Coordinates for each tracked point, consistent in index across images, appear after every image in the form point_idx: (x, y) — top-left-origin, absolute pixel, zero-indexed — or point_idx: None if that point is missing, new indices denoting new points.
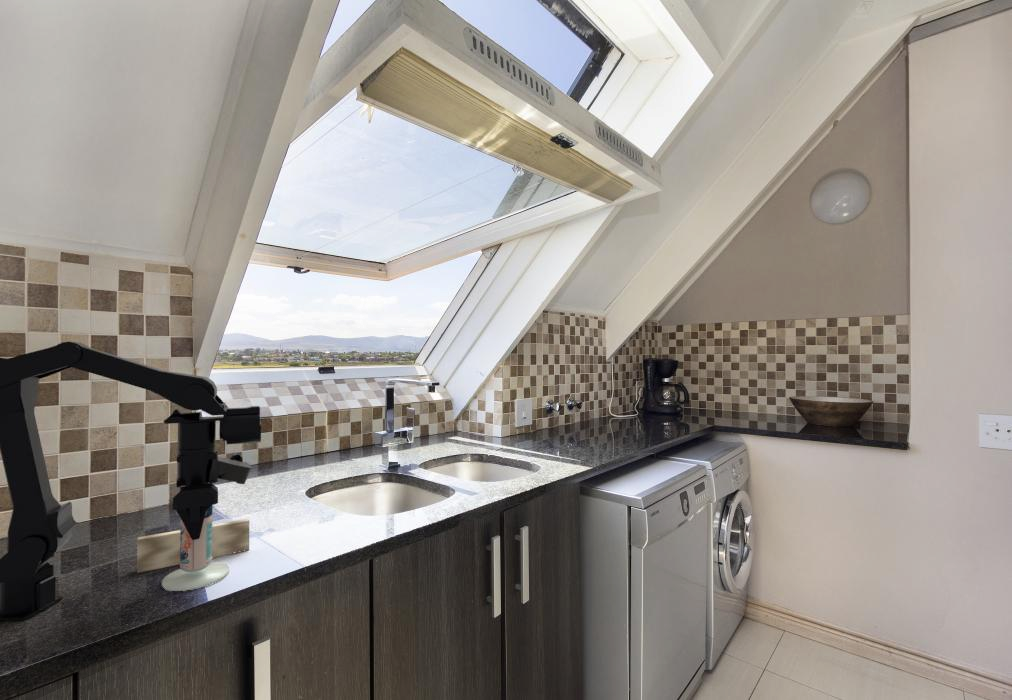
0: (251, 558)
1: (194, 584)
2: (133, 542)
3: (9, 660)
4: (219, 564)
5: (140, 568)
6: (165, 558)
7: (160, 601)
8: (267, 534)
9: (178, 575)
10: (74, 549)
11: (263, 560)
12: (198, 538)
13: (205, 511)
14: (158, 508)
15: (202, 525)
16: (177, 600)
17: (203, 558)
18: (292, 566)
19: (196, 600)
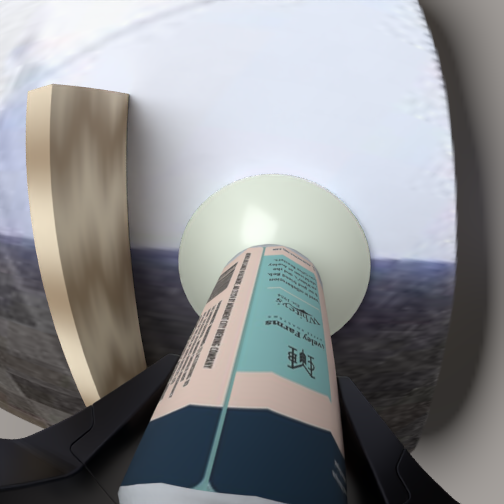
0: (212, 89)
1: (354, 289)
2: (3, 331)
3: None
4: (230, 201)
5: (142, 368)
6: (127, 335)
7: (366, 350)
8: (43, 51)
9: None
10: (22, 387)
11: (263, 55)
12: (346, 378)
13: (452, 500)
14: None
15: (386, 426)
16: (394, 321)
17: (320, 294)
18: (386, 2)
19: (431, 286)
